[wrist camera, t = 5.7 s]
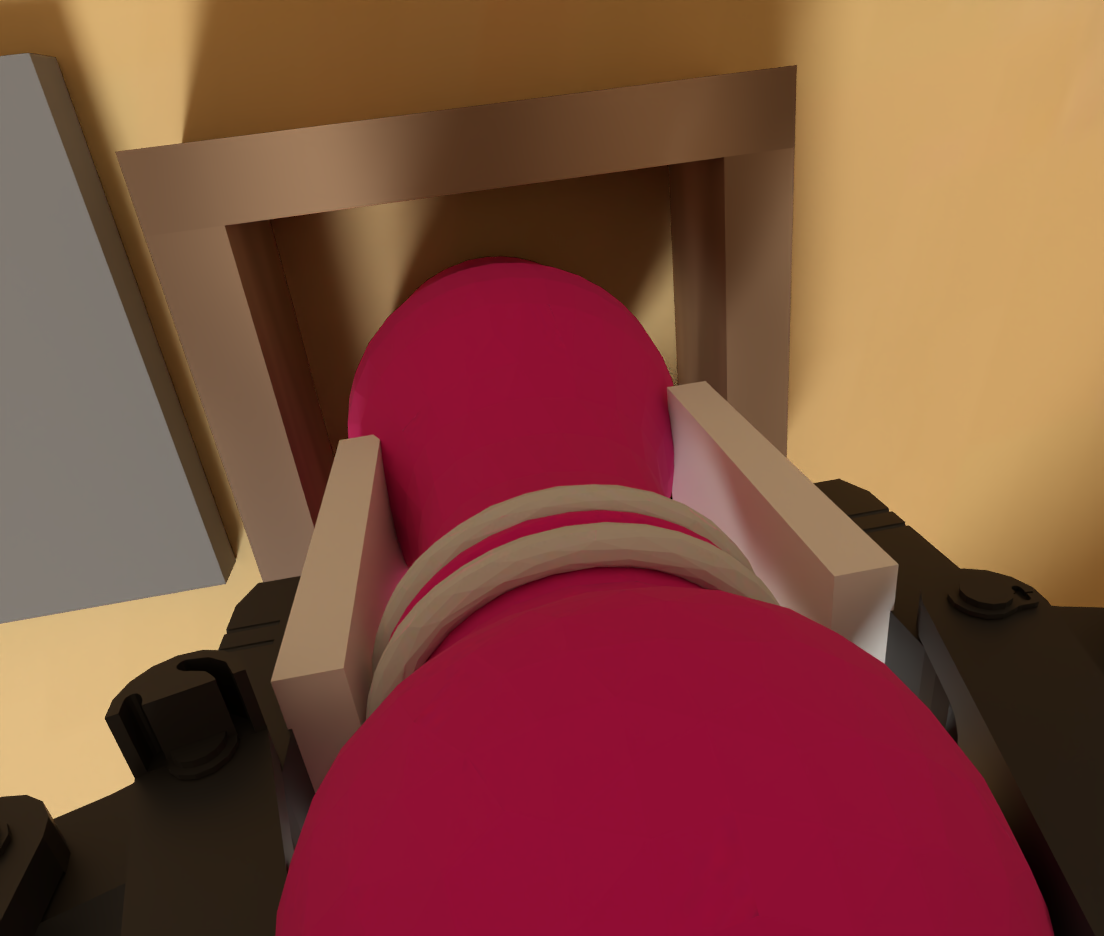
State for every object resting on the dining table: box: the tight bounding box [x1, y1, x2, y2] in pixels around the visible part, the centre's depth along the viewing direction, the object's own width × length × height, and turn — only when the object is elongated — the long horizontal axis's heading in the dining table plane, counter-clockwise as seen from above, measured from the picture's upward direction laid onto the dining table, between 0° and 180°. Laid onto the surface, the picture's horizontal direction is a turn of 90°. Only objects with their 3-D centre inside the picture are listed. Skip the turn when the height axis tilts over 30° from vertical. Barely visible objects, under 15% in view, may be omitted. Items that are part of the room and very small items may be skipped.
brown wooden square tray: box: [116, 65, 797, 582], centre depth 19 cm, size 13×13×4 cm
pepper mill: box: [275, 256, 1055, 936], centre depth 11 cm, size 7×7×20 cm
